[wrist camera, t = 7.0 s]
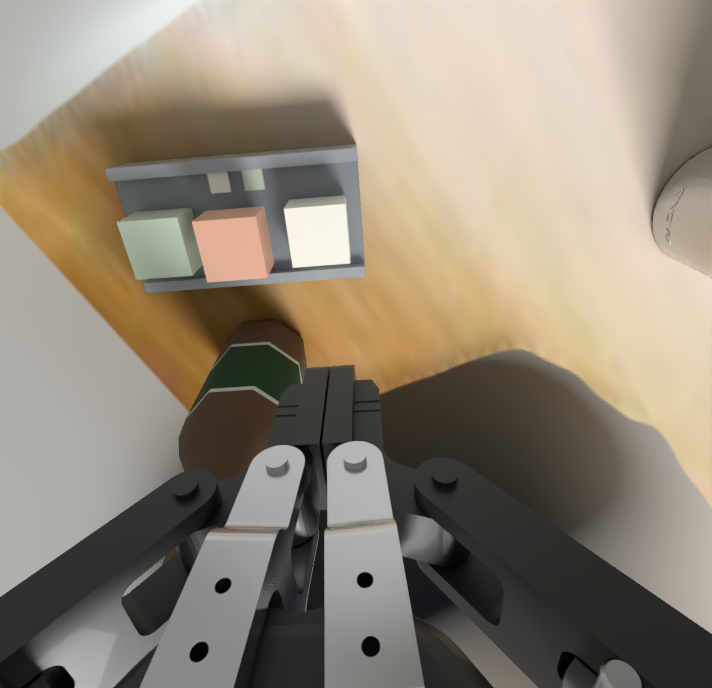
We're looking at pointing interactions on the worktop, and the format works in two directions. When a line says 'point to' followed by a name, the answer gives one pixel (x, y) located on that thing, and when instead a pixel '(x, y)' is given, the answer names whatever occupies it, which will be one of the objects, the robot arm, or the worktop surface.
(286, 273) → the grey tray
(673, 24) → the worktop surface
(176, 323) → the worktop surface
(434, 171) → the worktop surface
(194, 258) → the key sage
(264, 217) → the key terracotta
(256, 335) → the beer bottle
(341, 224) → the key ivory
